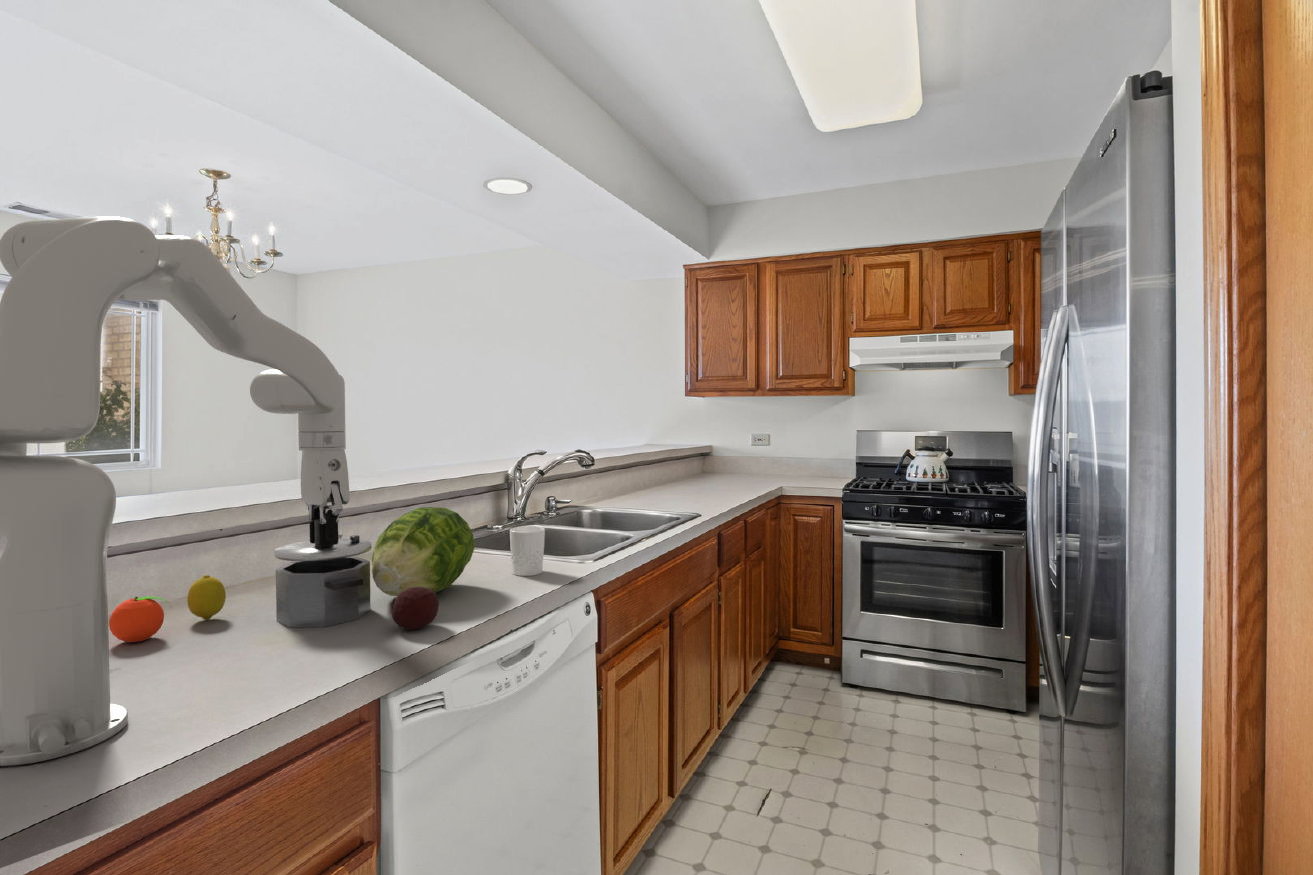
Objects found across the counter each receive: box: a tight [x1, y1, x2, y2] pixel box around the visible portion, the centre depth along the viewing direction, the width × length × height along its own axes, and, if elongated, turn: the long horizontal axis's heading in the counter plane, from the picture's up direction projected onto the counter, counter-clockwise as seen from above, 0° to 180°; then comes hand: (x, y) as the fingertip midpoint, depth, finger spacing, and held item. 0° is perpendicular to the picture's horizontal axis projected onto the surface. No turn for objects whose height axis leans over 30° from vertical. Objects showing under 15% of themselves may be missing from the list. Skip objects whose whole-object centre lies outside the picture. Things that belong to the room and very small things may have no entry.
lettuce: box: [371, 506, 475, 597], centre depth 132 cm, size 17×23×17 cm
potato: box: [391, 587, 440, 631], centre depth 112 cm, size 7×8×7 cm
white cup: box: [509, 525, 546, 577], centre depth 151 cm, size 8×8×10 cm
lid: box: [273, 519, 372, 562], centre depth 119 cm, size 16×16×6 cm
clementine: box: [108, 596, 173, 643], centre depth 105 cm, size 8×7×7 cm
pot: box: [275, 556, 372, 629], centre depth 119 cm, size 19×14×9 cm
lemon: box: [187, 574, 227, 621], centre depth 115 cm, size 6×6×8 cm
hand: (324, 542), depth 119 cm, fingers closed on lid, 3 cm apart
